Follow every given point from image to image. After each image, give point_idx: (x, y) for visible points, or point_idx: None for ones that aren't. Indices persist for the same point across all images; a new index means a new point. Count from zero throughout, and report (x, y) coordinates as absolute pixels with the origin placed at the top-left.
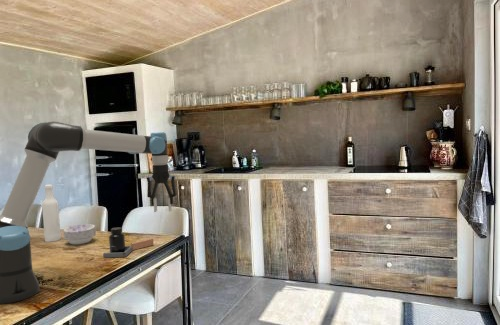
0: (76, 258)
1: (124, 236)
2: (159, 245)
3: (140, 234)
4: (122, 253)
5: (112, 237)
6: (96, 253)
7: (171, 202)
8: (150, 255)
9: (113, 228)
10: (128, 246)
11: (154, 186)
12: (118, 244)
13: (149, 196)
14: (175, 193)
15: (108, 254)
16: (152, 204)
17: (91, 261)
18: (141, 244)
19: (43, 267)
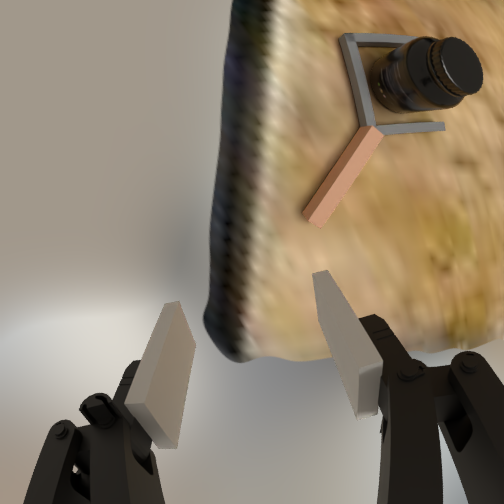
0: (483, 56)
1: (408, 79)
2: (271, 214)
3: (410, 343)
4: (354, 33)
5: (437, 39)
6: (465, 99)
7: (134, 374)
8: (237, 66)
9: (475, 68)
10: (384, 125)
11: None
12: (398, 47)
13: (455, 366)
14: (49, 452)
15: (404, 36)
16: (373, 317)
17: (426, 14)
18: (342, 163)
19: (494, 4)
